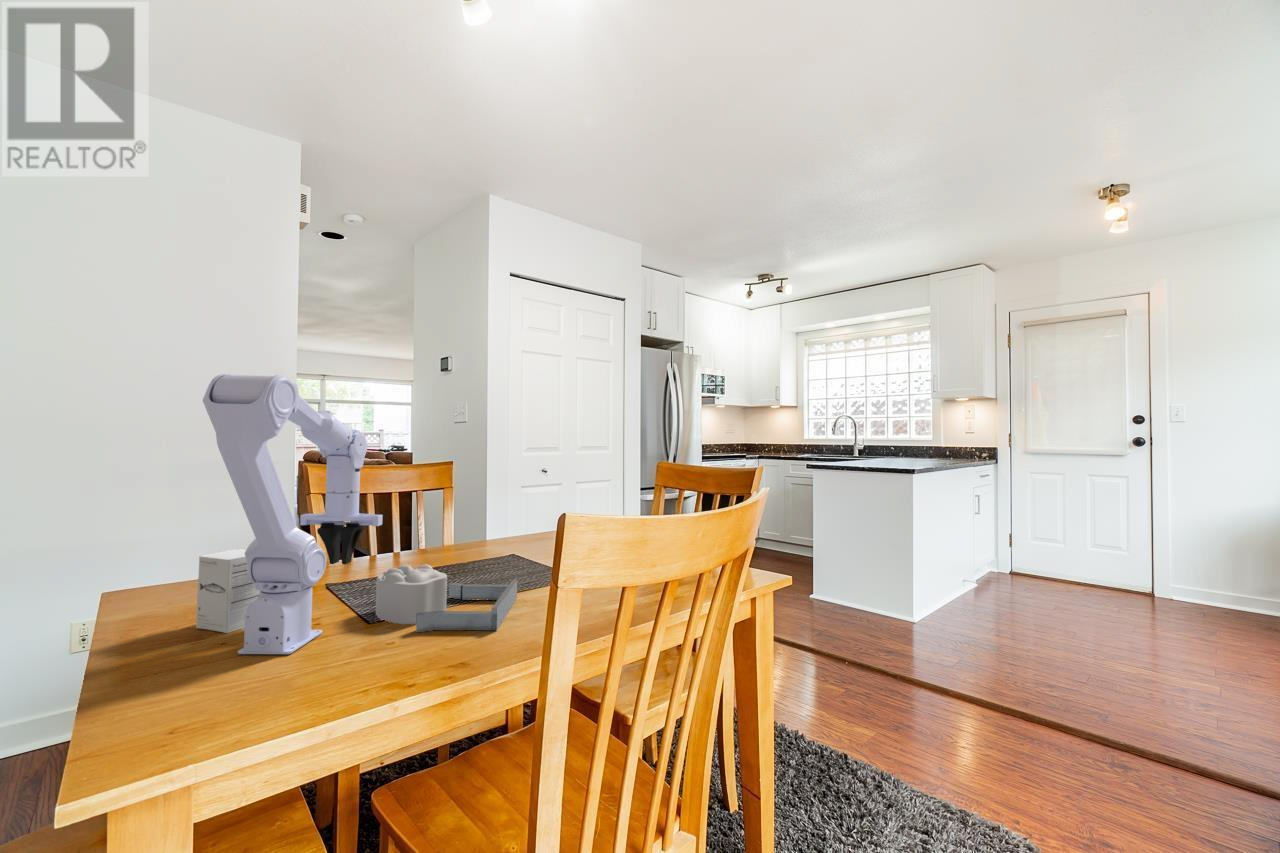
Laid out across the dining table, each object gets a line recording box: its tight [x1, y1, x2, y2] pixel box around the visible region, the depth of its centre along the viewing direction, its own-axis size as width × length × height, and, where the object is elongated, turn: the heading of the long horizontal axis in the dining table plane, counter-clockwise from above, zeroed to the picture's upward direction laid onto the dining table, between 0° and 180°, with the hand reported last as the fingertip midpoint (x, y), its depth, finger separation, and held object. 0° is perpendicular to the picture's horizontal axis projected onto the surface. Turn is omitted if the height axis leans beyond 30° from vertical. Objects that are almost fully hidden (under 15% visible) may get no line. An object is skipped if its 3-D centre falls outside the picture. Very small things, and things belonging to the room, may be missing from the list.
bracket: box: [415, 579, 518, 634], centre depth 104 cm, size 21×14×4 cm, turn 2°
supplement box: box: [195, 548, 260, 634], centre depth 95 cm, size 7×7×13 cm
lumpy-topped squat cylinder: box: [375, 563, 448, 625], centre depth 103 cm, size 10×13×9 cm
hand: (340, 563), depth 103 cm, fingers closed
